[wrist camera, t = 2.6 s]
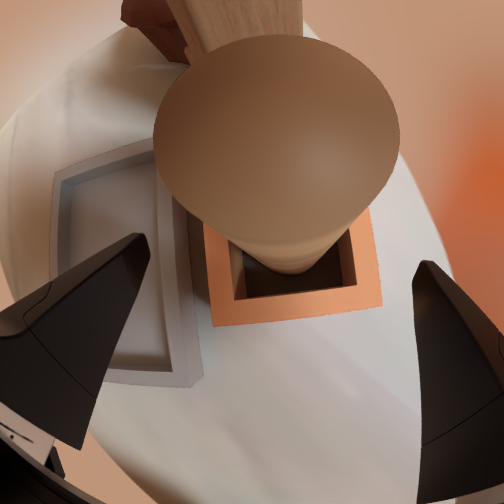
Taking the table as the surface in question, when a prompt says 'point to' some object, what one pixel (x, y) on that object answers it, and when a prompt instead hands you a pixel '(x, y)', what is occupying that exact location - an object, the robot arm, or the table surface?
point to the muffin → (156, 26)
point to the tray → (159, 268)
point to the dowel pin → (277, 145)
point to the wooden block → (233, 21)
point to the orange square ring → (294, 303)
